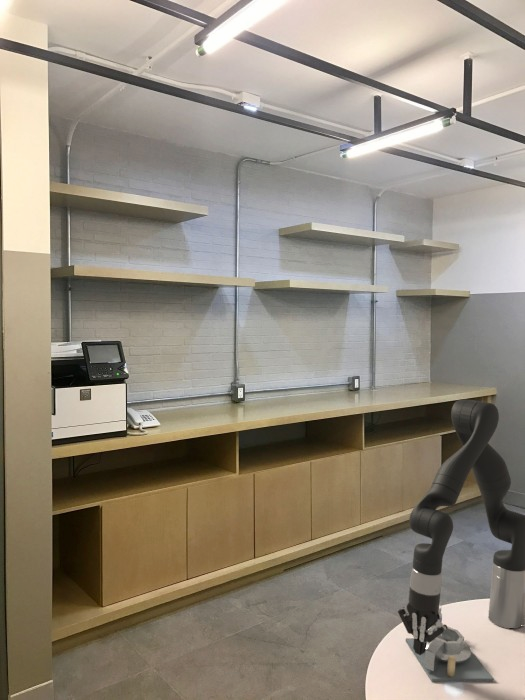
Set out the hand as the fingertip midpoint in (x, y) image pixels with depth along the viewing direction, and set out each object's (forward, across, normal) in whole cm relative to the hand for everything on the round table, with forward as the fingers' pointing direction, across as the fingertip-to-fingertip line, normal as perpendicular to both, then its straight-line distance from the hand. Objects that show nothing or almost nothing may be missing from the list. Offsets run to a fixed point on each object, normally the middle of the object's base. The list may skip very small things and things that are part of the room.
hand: (419, 652), depth 146 cm
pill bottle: (+4, +5, -18) cm, 19 cm away
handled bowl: (+2, -3, -7) cm, 8 cm away
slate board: (+4, -4, -8) cm, 10 cm away
